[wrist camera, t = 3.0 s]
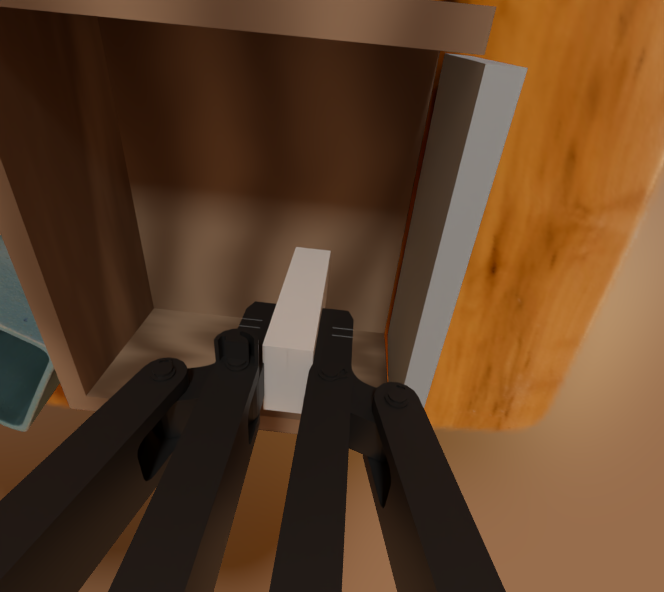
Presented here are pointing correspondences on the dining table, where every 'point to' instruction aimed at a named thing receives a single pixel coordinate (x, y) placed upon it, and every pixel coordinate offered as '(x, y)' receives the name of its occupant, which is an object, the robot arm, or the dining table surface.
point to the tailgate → (448, 209)
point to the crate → (209, 167)
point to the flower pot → (21, 354)
